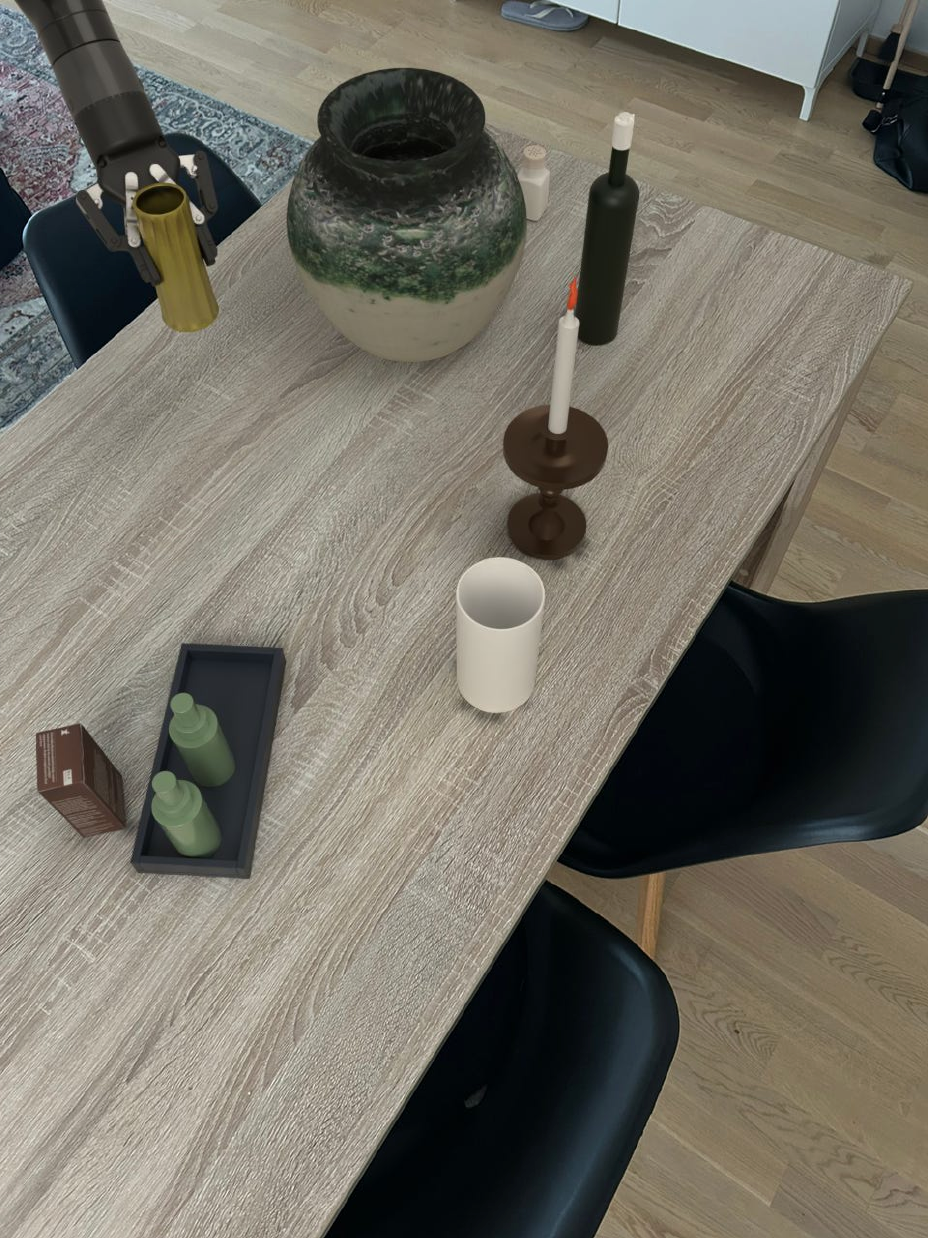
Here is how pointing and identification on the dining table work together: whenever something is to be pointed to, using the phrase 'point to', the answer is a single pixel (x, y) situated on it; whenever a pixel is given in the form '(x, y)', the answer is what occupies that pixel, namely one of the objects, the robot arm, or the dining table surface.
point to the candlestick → (554, 458)
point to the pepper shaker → (534, 181)
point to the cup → (498, 633)
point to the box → (79, 780)
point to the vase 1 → (175, 257)
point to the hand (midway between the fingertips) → (184, 273)
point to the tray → (247, 713)
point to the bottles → (208, 765)
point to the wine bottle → (607, 242)
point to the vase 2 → (406, 215)
